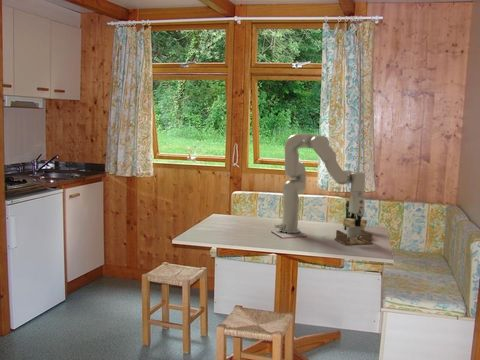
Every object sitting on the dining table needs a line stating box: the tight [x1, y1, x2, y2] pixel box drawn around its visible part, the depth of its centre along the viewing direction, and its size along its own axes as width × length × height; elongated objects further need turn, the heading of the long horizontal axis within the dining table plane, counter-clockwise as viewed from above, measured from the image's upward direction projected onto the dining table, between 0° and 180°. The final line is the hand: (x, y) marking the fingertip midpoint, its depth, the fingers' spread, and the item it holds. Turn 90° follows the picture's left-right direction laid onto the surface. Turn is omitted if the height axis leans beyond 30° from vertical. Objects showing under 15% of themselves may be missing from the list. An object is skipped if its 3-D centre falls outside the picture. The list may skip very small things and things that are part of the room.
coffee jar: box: [343, 200, 359, 230], centre depth 318 cm, size 10×8×19 cm
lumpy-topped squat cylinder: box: [345, 227, 366, 238], centre depth 302 cm, size 10×13×9 cm
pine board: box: [342, 217, 368, 228], centre depth 284 cm, size 12×5×4 cm, turn 105°
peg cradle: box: [334, 229, 374, 246], centre depth 285 cm, size 18×12×6 cm, turn 108°
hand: (354, 224), depth 284 cm, fingers closed on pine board, 5 cm apart
